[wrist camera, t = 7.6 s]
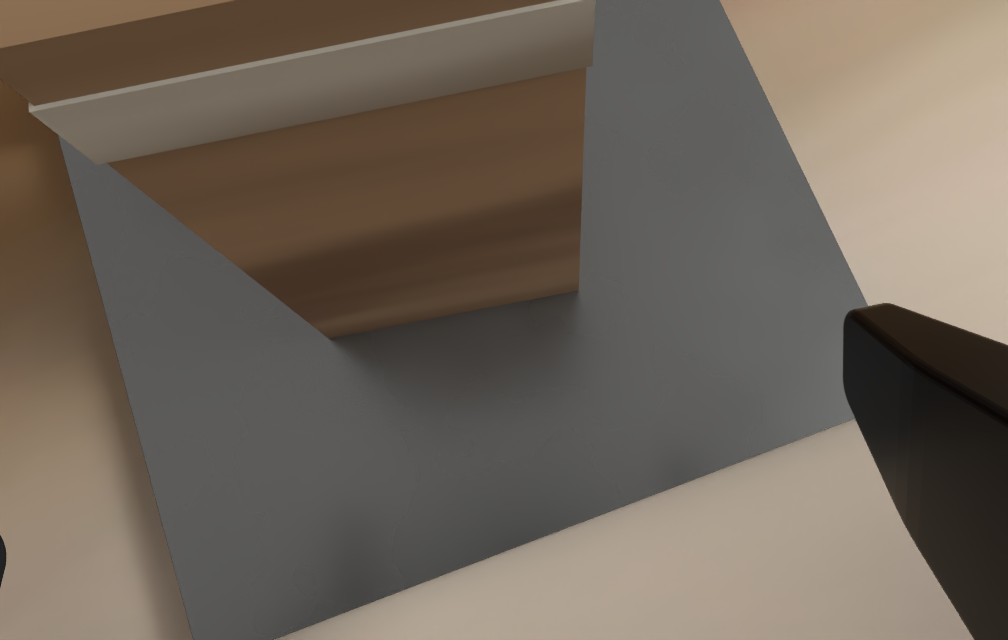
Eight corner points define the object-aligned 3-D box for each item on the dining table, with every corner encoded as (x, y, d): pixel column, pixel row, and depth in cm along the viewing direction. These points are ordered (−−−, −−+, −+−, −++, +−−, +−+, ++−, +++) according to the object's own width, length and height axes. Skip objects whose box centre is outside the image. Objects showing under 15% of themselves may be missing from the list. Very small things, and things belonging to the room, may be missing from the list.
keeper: (900, 401, 17) (1121, 313, 10) (213, 662, 17) (-31, 752, 10) (624, -172, 21) (652, -529, 14) (44, 43, 21) (-227, -208, 14)
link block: (582, 292, 18) (599, -69, 7) (326, 341, 18) (-38, 61, 7) (533, 59, 19) (485, -552, 8) (294, 107, 19) (-59, -432, 8)
